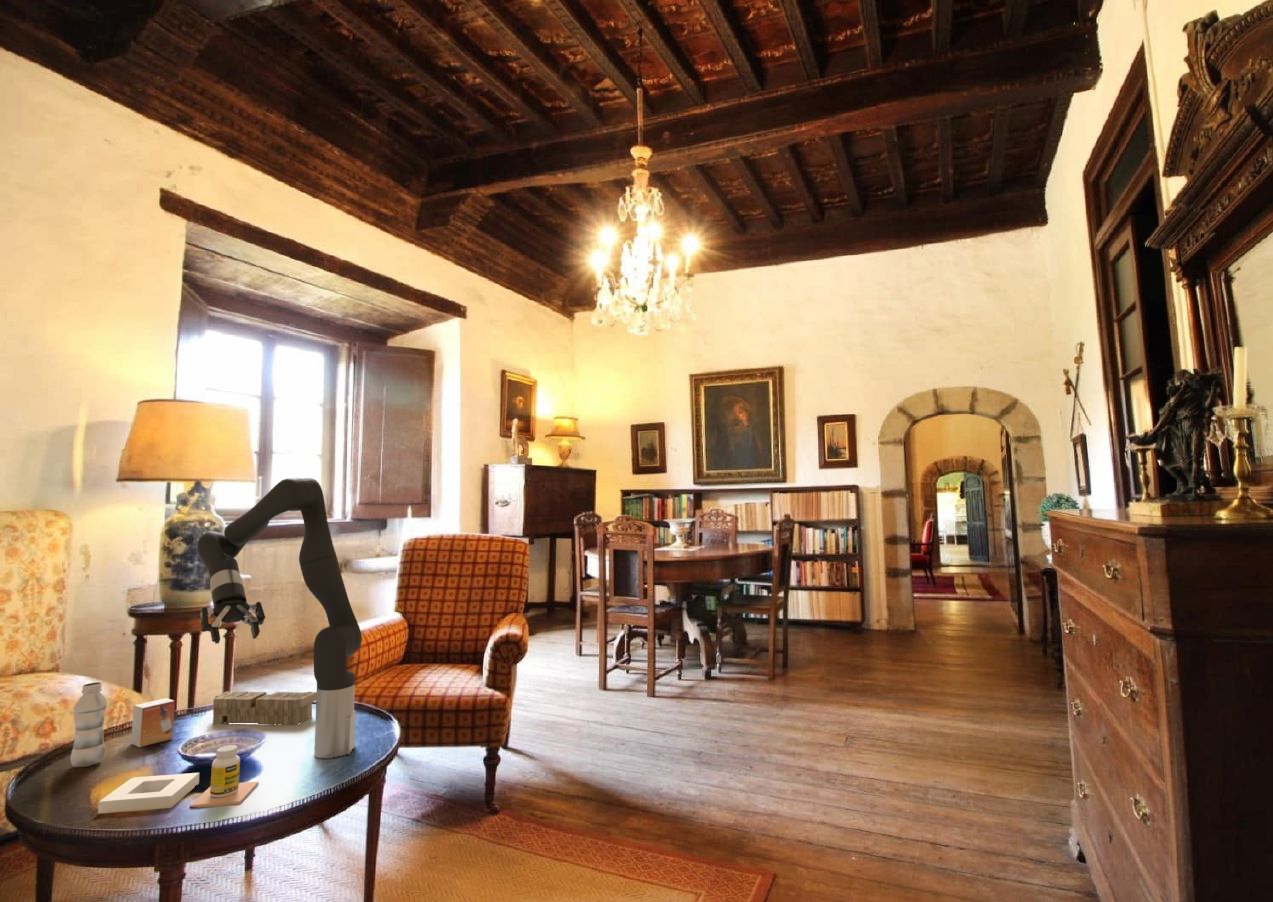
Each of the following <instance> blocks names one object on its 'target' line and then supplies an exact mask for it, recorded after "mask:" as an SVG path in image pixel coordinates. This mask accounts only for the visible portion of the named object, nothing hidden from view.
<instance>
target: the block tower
mask: <svg viewBox="0 0 1273 902" xmlns="http://www.w3.org/2000/svg"><path fill="white" fill-rule="evenodd" d="M316 694H317V691H304V692H302V691H301V692H298V691H297V692H296V691H295V692H293V691H282V692H281V691H276V692H274V693H271V694H267V692H266V691H230V690H228V691H224V692H222V693H221V694H217V695H215V696H214V698H213V703H212V704H213V705H212V706H213V713H212V716H213V717H212V724H213V725H224V724H226V725H230V724H229V723H258V724H269V725H268V726H279V725H278V724H281V725H280V726H298V724H299V723H301V722H302V723H303V722H306V721H307V720H309V719H310V718H312V717H313V702H316ZM308 718H309V719H308ZM305 720H306V721H305ZM225 722H226V723H225ZM223 723H224V724H223ZM302 723H301V724H302ZM270 724H271V725H270ZM274 724H276V725H274ZM299 725H300V724H299Z"/></svg>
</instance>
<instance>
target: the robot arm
mask: <svg viewBox="0 0 1273 902" xmlns="http://www.w3.org/2000/svg"><path fill="white" fill-rule="evenodd" d="M288 511H289V512H298V511H300V513H301V516H302V521H303V524H304V536H303V540H302V543H301V547H300V549H299V555H298V562H299V566H300V570H301V574H302V578H303V582H304V583H305V586H306V587H307V588H308V590H309V591H310V592H311V594H312V595H313V596H314V597H315V599H316V600H317V601H318V602H319V603H320V605H321V606H322V608H323V610H324V613H325V615H326V617H327V618H326V619H327V621H328V626H327V627H324V628H322V629H320V631H319V632H318V633H317V634H316V636H315V638H314V642H313V675H314V676H313V677H314V678H315V680H316V692H317V694H316V701H315V723H314V724H315V725H314V728H315V729H314V747H313V748H314V757H316V758H318V759H334V758H333V757H335V758H338V757H337V756H340V757H343V756H347V755H346V754H349V755H350V754H351V753H352V751H353V750H352V749H354V748H355V747H356V746H355V745H356V722H357V721H356V720H357V716H356V715H357V711H356V710H355V687H356V686H355V685H356V674H355V672H353V671H352V670H348V669H347V668H348V667H347V657H350V656H352V655H354V654H355V653H357V652H358V651H359V650H360V647H361V646H362V640H363V638H362V631H361V629H360V625H359V623H358V620H357V618H356V615H355V613H354V611H353V608H352V606H351V602H350V600H349V596H348V593H347V589H346V586H345V583H344V579H343V576H342V572H341V567H340V563H339V559H338V557H337V553H336V550H335V547H334V542H333V539H332V535H331V530H330V527H329V521H328V517H327V510H326V504H325V497H324V492H323V489H322V485H320V482H319V481H318V480H316V479H314V478H313V477H286V478H284V479H282V480H280V481H279V482H278V483H277V484H276V485H274V487H272V488H271V490H269V491H268V492H267V494H265V495H264V496H263V497H262V498H261V499H260V500H259V502H257V503H256V504H255V505H254V506H253V507H252V508H250V509H249V510H248V511H246V512H245V513H243V514H242V515H241V516H239V517H237V518H236V519H234V520H233V521H231V522H230V523H229V524H228V525H227V526H225V528H224V533H222V532H217V531H213V530H212V531H206V532H205V533H203V534H202V535H200V536H199V539H198V541H197V544H196V549H197V554H198V555H199V557H200V559H201V561H202V562H203V564H204V566H205V567H206V569H207V570H208V575H209V581H210V584H209V588H210V594H211V600H212V604H213V608H208V607H206V606H204V607H202V608H201V611H200V614H199V615H200V617H199V618H200V630H201V632H203V633H205V632H208V633H210V637H211V642H213V643H215V645H217V644H220V642H221V635H220V629H219V628H220V627H221V625H222V624H224V623H225V624H230V623H239V622H240V621H241V623H243V624H244V625H246V624H247V625H248V626H250V632H251V636H252V639H257V637H258V636H259V635H260V633H261V631H260V626H259V625H263V624H264V621H265V619H266V615H265V612H264V609H263V606H262V603H261V602H260V601H256V603H255V604H249V603H248V602H247V596H246V593H245V587H244V582H243V578H242V576H241V574H240V568H239V563H238V561H237V560H236V557H237V556H238V555H239V554H240V552H241V551H242V550H243V548H244V547H245V546H246V544H247V543H249V542H250V541H251V540H253V539H254V538H256V537H257V536H259V535H260V534H262V533H263V532H264V531H265V530H266V528H267V527H268V526H269V523H270V521H271V520H272V519H273V518H275V517H277V516H278V515H282V514H284V513H286V512H288ZM251 611H252V612H251ZM253 614H255V616H254V615H253ZM211 615H213V616H214V617H216V618H215V620H214V621H213V622H212V623H209V618H210V617H211ZM354 746H355V747H354ZM350 752H351V753H350ZM342 755H343V756H342Z"/></svg>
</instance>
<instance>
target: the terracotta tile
mask: <svg viewBox="0 0 1273 902" xmlns="http://www.w3.org/2000/svg"><path fill="white" fill-rule="evenodd" d="M258 785H259V781H249V782H239V786H238V790H237V791H236V792H235V793H234V794H231V795H229V796H226V797H212V796H211V795H210V787H211V785H209V787H208V788H207V789H205V791H204V792H202V793H201V794H200V795H199V796H198V797H197V798H196V799H195V800H194V801H193V802H192V803H191V804H189V808H190V807H198V808H207V807H219V806H220V807H221V806H222V807H223V806H230V805H231V804H234V805H241V804H242V803H241V802H244V800H245V799H246V798H247V797H248V796H249V795H250V794H251V793H252V792H253V790H255V788H256V787H257V786H258ZM240 803H241V804H240ZM231 806H232V805H231Z"/></svg>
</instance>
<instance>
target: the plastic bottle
mask: <svg viewBox="0 0 1273 902" xmlns="http://www.w3.org/2000/svg"><path fill="white" fill-rule="evenodd" d="M102 687H103V682H101V681H100V682H99V681H98V682H96V681H95V682H90V683H85V684H83V685H82V690H81V694H82V695H81V697H80V698H78V700H77V701H76V703H75V704H74V706H73V717H74V730H75V731H74V740H73V748H72V750H71V752H70V753H71V754H70V758H69V760H70V764H71V765H72V766H73V767H74V768H85V767H90V766H94V765H96V764H99V763H100V762H102V760H103V759H104V758H105V754H106V746H105V741H104V724H105V717H106V713H107V709H108V708H107V707H108V700H107V698H106V697H105V696H104V695H103V694H102V693H101V691H103V688H102Z"/></svg>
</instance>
